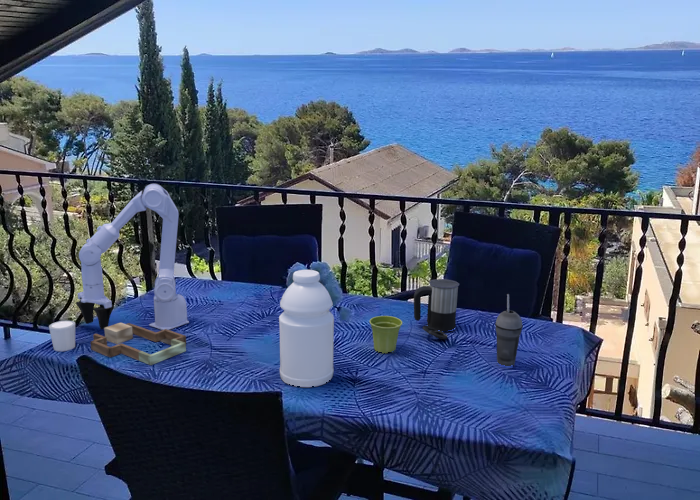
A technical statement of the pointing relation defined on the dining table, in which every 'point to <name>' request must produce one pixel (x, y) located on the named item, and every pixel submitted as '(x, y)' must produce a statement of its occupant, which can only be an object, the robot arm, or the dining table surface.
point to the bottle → (306, 332)
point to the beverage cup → (508, 336)
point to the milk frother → (438, 306)
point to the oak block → (118, 333)
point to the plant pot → (385, 332)
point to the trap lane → (163, 336)
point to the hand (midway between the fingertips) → (96, 325)
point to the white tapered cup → (63, 335)
